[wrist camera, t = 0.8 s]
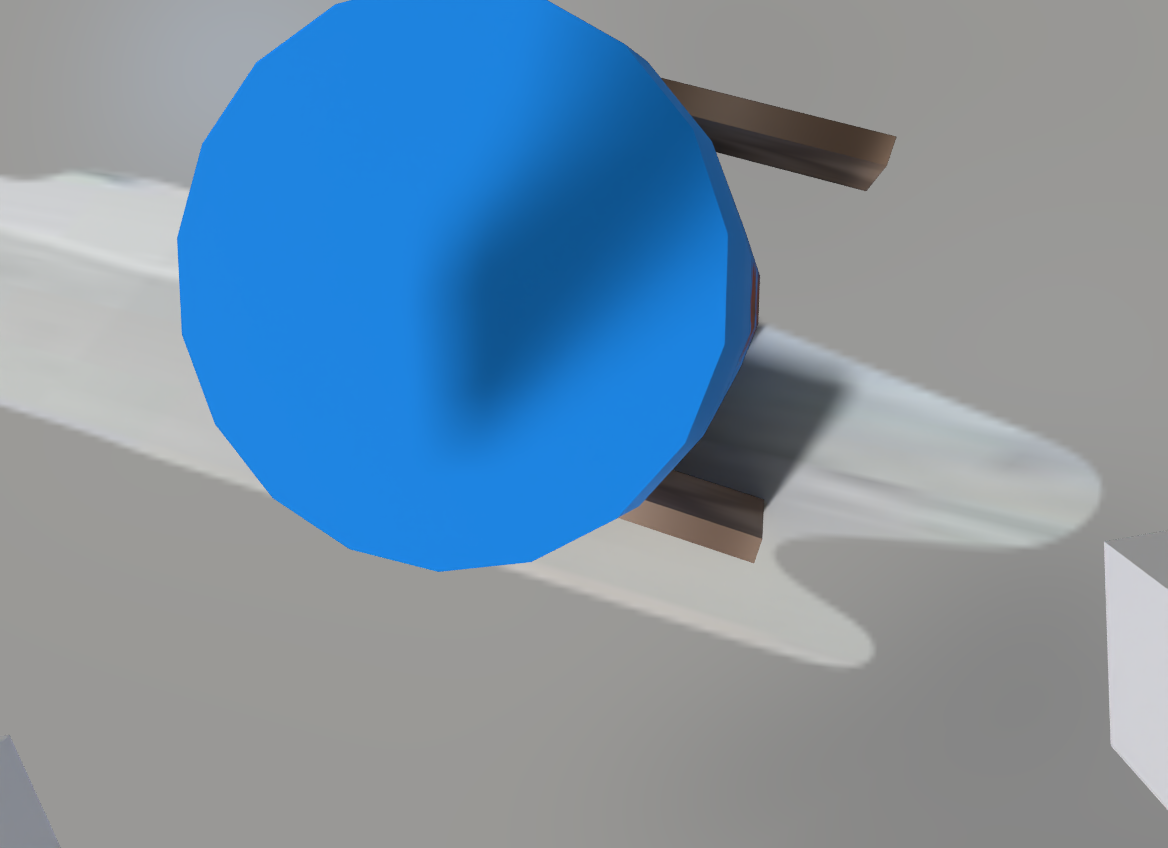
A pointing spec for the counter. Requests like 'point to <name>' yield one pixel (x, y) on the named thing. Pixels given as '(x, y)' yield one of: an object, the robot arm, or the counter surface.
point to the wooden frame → (788, 146)
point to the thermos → (461, 278)
